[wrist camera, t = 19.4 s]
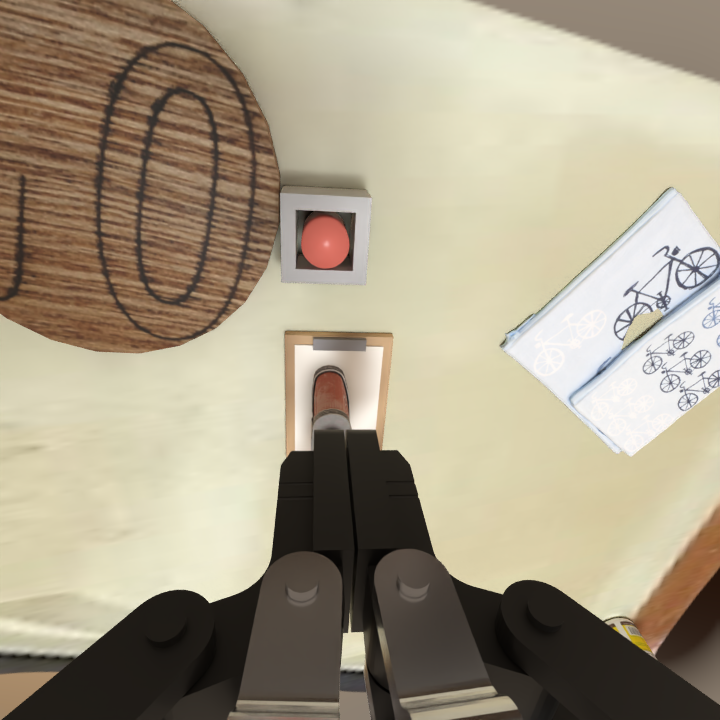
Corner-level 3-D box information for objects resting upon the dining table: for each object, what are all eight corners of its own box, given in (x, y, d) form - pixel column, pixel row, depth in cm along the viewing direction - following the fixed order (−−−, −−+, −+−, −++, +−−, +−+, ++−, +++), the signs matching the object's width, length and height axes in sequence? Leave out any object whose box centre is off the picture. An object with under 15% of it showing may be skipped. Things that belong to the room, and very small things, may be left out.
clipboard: (287, 455, 45) (286, 464, 44) (285, 331, 39) (284, 337, 38) (379, 454, 46) (381, 463, 45) (392, 333, 40) (394, 339, 39)
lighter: (308, 366, 39) (306, 437, 31) (348, 363, 40) (357, 433, 31) (314, 442, 43) (314, 526, 34) (351, 440, 43) (360, 522, 35)
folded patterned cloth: (613, 451, 49) (625, 465, 47) (491, 339, 42) (500, 349, 40) (782, 323, 43) (804, 333, 42) (676, 167, 36) (696, 170, 34)
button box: (284, 266, 36) (281, 282, 33) (283, 185, 34) (279, 192, 30) (361, 269, 37) (365, 285, 33) (366, 189, 34) (371, 197, 31)
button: (302, 251, 35) (301, 267, 32) (303, 207, 34) (301, 219, 30) (344, 253, 36) (348, 269, 32) (347, 210, 34) (350, 221, 30)
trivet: (-66, 314, 36) (-84, 324, 35) (-145, -105, 25) (-177, -121, 24) (259, 365, 41) (256, 375, 39) (308, 24, 30) (308, 19, 28)
